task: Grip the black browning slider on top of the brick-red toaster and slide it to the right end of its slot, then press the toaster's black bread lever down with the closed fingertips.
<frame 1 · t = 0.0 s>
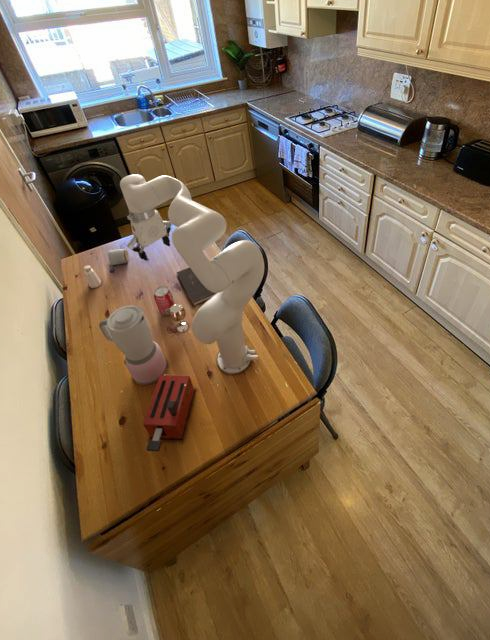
hand: (156, 251, 123), 37 cm above the table, tool pointing down, fingers open, 9 cm apart
hardcover book: (201, 283, 162), on the table
pepper shaker: (95, 284, 164), on the table
toaster: (174, 413, 114), on the table
soda can: (168, 310, 150), on the table
browning slider: (172, 407, 103), point 13 cm above the table, slide at 0.0 cm
ceramic mug: (120, 260, 177), on the table
wineglass: (182, 327, 142), on the table
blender: (146, 371, 127), on the table
bread lever: (156, 439, 100), point 9 cm above the table, slide at 0.0 cm
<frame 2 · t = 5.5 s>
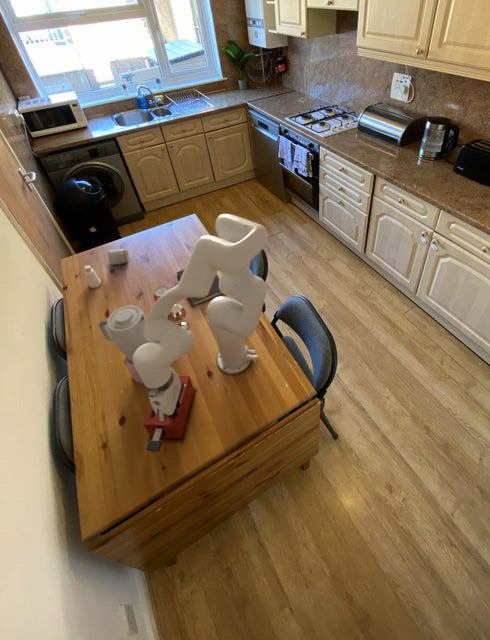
hand: (174, 410, 105), 11 cm above the table, tool pointing down, fingers closed on browning slider, 2 cm apart
browning slider: (172, 407, 103), point 13 cm above the table, slide at 0.0 cm, touching gripper
everything else where it was.
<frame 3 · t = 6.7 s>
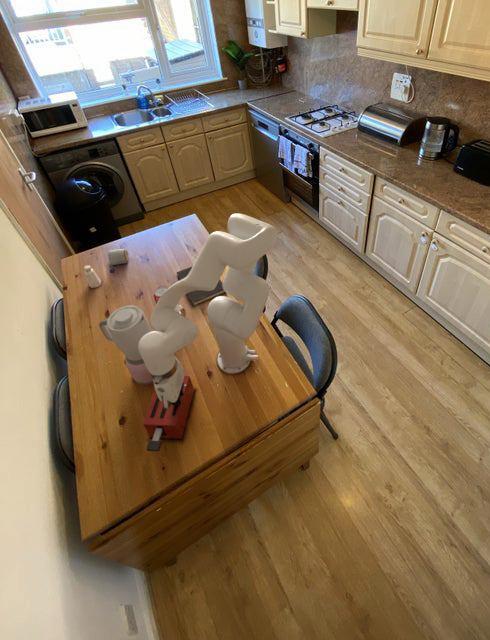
hand: (177, 399, 107), 11 cm above the table, tool pointing down, fingers closed on browning slider, 2 cm apart
browning slider: (176, 395, 106), point 13 cm above the table, slide at 3.6 cm, touching gripper
everything else where it was.
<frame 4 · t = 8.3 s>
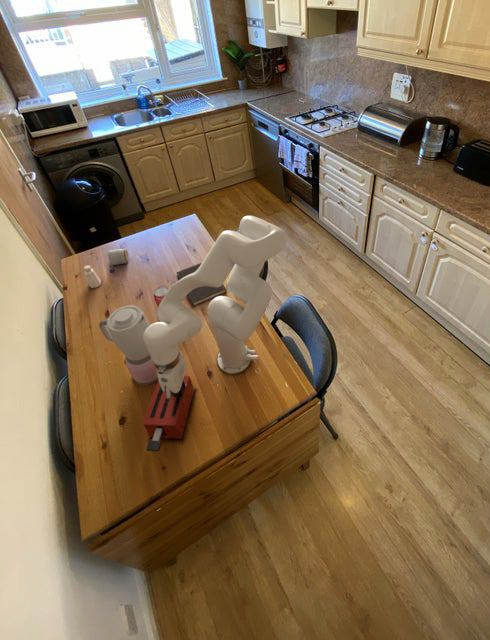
hand: (179, 390, 110), 10 cm above the table, tool pointing down, fingers closed on browning slider, 2 cm apart
browning slider: (178, 387, 108), point 13 cm above the table, slide at 6.5 cm, touching gripper
everything else where it was.
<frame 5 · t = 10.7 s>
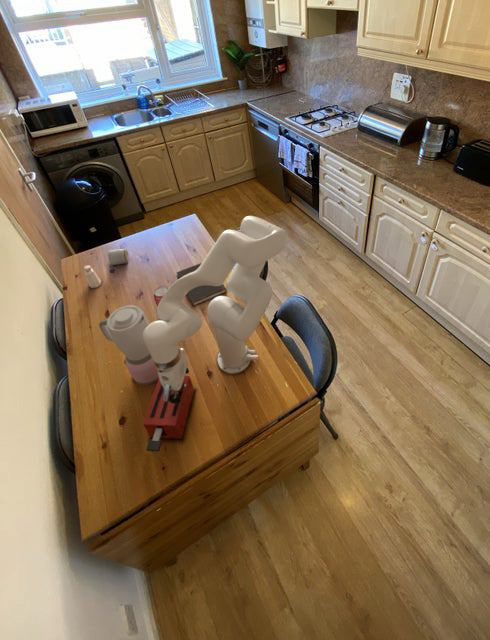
hand: (179, 386, 109), 12 cm above the table, tool pointing down, fingers open, 9 cm apart
browning slider: (179, 385, 109), point 13 cm above the table, slide at 7.1 cm
everything else where it was.
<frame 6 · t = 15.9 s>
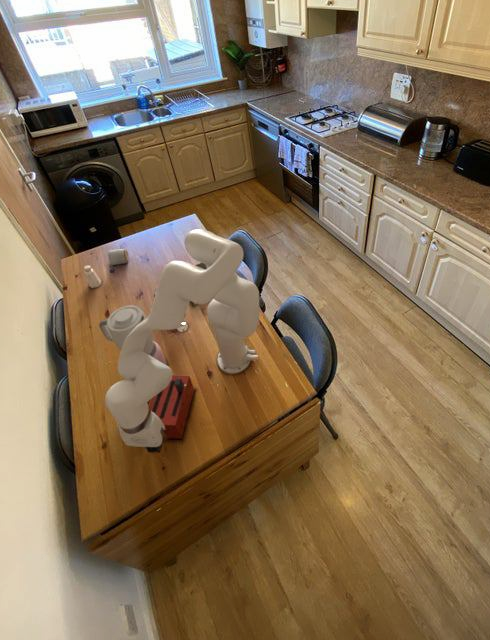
hand: (153, 446, 99), 8 cm above the table, tool pointing down, fingers closed
bread lever: (156, 440, 101), point 8 cm above the table, slide at 0.9 cm, touching gripper
everything else where it was.
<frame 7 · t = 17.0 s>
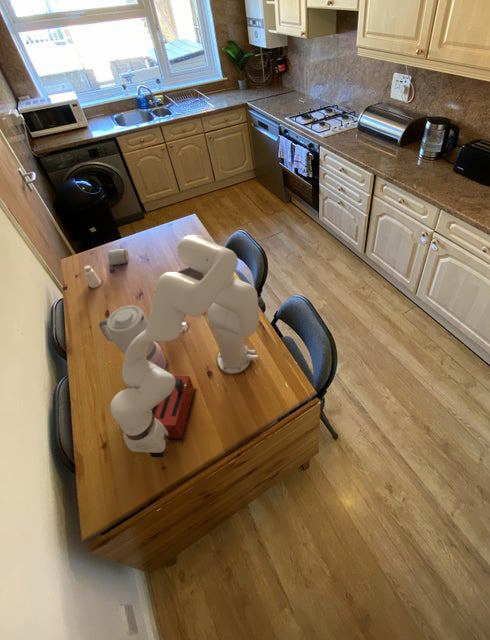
hand: (156, 452, 101), 5 cm above the table, tool pointing down, fingers closed
bread lever: (159, 445, 103), point 4 cm above the table, slide at 4.5 cm, touching gripper
everything else where it was.
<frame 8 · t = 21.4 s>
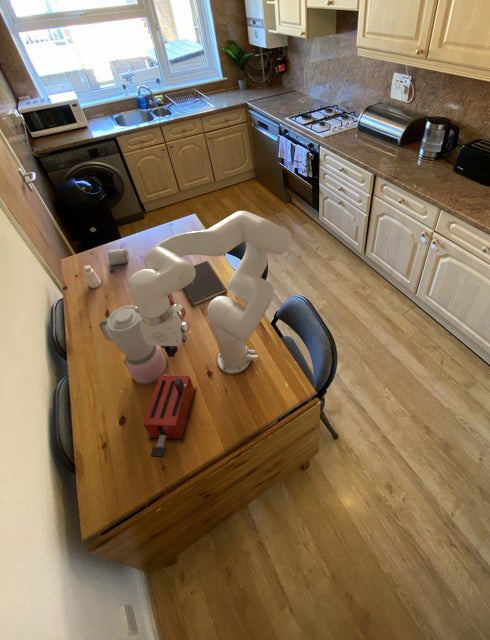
hand: (172, 352, 99), 29 cm above the table, tool pointing down, fingers closed
bread lever: (159, 445, 103), point 4 cm above the table, slide at 4.5 cm
everything else where it was.
at the end: browning slider slide at 7.1 cm; bread lever slide at 4.5 cm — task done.
